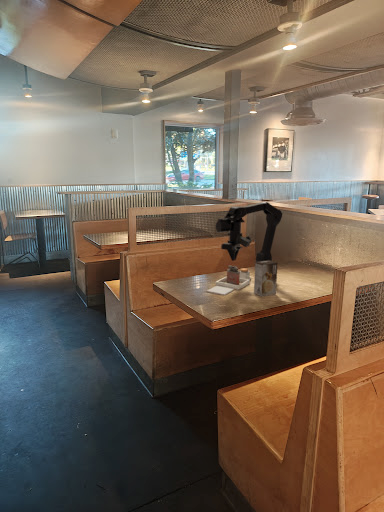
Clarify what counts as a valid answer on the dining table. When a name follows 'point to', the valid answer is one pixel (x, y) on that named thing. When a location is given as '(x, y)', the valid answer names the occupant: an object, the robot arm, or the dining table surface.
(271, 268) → the coffee box
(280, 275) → the dining table surface
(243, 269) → the plunger
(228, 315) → the dining table surface
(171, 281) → the dining table surface
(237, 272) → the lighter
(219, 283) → the holder
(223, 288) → the mat
